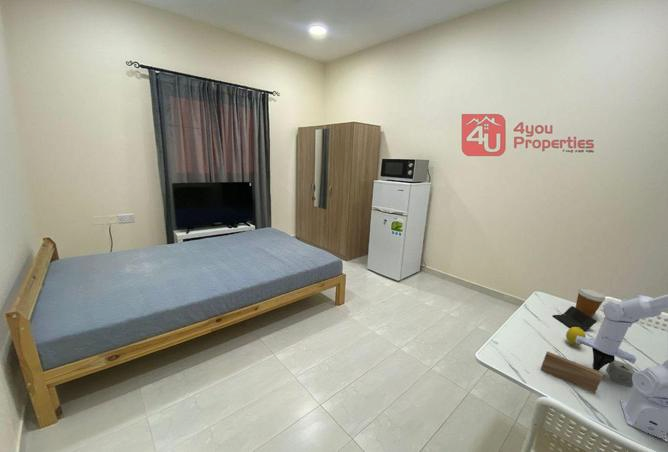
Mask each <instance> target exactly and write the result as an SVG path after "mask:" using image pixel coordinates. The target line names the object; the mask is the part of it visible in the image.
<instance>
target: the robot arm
mask: <svg viewBox="0 0 668 452" xmlns="http://www.w3.org/2000/svg"><path fill="white" fill-rule="evenodd" d="M666 310H668V294H664V295H661V296H657V297H654V298H653V297H652V296H647V295H646V296H645V295H640V294H638V295H635V298H631V299H621V301H620V302H615V301H608V302H606V303H605V304H604V305H603V307H602V311H603V315H604V318H603V320H602V322H601V325H600V328H599V330H598V331H597V334H596V337H595V338H594V339H593V338H588V337H581V336H578V335H577V337H576V343H578V344H580V343H581V345H584V346H586V347H589V348H591V350H592V354H593V355H592V356H593V357H592V358H593V361H592V369H593V370H596V371H598V372H600V370H601V369H602V368H603V367H605V366H606V365H608V364H609V363H611V362H613V361H614V360H616V358H620V359H623V360H626V361H628V362H629V364H630V363H631V364H635V363H636V361H637V358H636V355H634V354H632V353H630V352H627V351H625V350H623V349H621V348H620V346H621V344H622V343H623V340H624V338H625V336H626V334H627V332H628V330H629V328H631V327H632V326H633V324H636V323H638V322H639V321H640V320H642V319H649V318H654V317H659V316H660V315H661V314H662V313H663V311H666ZM615 357H616V358H615ZM632 382H633V384H632V386H633V388H634V389H633V392H632V393H631V396H630V397H629V399H628V400H627V401H625V400H623V399H620V405H621V408H622V411H623V414H624V418H625V421H626V424H628V425H629V426H631V427H633V428H635V429H636V430H637V429H638V430H639V431H641V432H644V433H646V434H648V433H649V434H648V435H651V434H652V435H651V436H653V435H656V436H658V437H660V438H662V439H664V440H665V439H666V440H667V441H668V436H667V434H668V359H666V360H665V361H664V362H663V363H662V364H658V365H654V366H649V367H645V369H643V370H636V371H635V372H634V373H633V375H632ZM665 436H666V437H665ZM662 439H661V440H662ZM664 440H663V441H664Z"/></svg>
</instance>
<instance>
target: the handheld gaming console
mask: <svg viewBox="0 0 668 452" xmlns="http://www.w3.org/2000/svg"><path fill="white" fill-rule="evenodd" d="M552 318H554V319H555V320H557V321H558V322H560V323H561V324H562V325H564V326H565V327H567V328H568V329H570V328H572V327H579V328H580V329H582V330H583V331H584V332H585V333H586V332H587V331H588V330H590V329H591V328H592V326H594V325H595V324H596V323H597V322H598V320H596V319H595V318H594V317H590V316H588V315H587V314H585V313H583V312H582V311H580V310H578V309H577V308H576V306H575V307H574V306H572V305H571V306H570V307H569V308H568V309H567V310H566V311H565V312H564V313H562V314H552Z"/></svg>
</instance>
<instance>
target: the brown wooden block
mask: <svg viewBox="0 0 668 452" xmlns="http://www.w3.org/2000/svg"><path fill="white" fill-rule="evenodd" d="M540 371H542V372H544V373H545V374H546V373H547V374H549V375H551V376H553V377H554V378H555V377H556V378H557V379H560V380H561V381H564V382H567V383H570V384H572V385H574V386H576V387H579V388H581V389H582V390H586V391H587V392H589V393H593V394H596V392H597V390H598V388H599V385H600V383H601V381H602V379H603V378H604V376H603V372H600V371H597V370H594V369H593V368H590V367H588V366H585V365H583V364H581V363H577V362H575V361H573V360H570V359H568V358H566V357H563V356H560V355H557V354H555V353H552V352H550V351H546V354H545V355H544V358H543V361H542V364H541V366H540Z"/></svg>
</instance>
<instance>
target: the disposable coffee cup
mask: <svg viewBox="0 0 668 452" xmlns="http://www.w3.org/2000/svg"><path fill="white" fill-rule="evenodd" d="M577 292H578V293H577V297H576V298H577V299H576V303H575V308H577V309H578V310H580V311H582V312H583V313H585V314H587V315H588V316H590V317H592V318H594V315H595V314H596V313H597V311H598V310H599V308H600V307H601V306H602V304H603V302H605V301H606V295H605V294H604V293H603V292H602V291H599V290H596V289H593V288H589V287H585V286H584V287H582V286H581V287H580V288H579V289H578V290H577Z"/></svg>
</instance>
